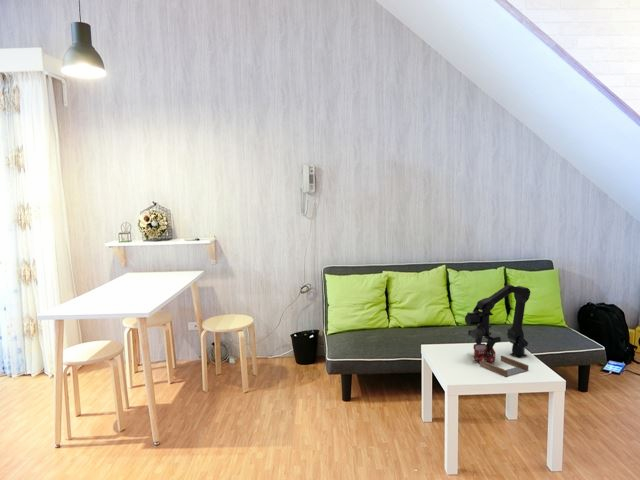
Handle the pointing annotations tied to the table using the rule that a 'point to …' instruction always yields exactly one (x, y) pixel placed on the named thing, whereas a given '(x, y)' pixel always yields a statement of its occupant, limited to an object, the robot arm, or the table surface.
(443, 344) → the table surface
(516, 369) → the pad
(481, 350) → the toy fire truck
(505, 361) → the walnut channel
